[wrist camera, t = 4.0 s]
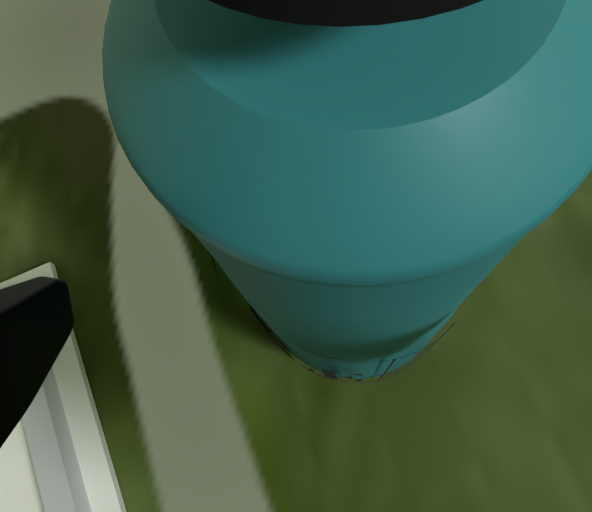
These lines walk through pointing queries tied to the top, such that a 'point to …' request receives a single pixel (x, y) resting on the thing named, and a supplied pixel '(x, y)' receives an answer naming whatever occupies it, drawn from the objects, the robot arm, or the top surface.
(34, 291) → the robot arm
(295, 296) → the beverage bottle
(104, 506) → the white square tray
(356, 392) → the top surface
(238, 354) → the top surface
